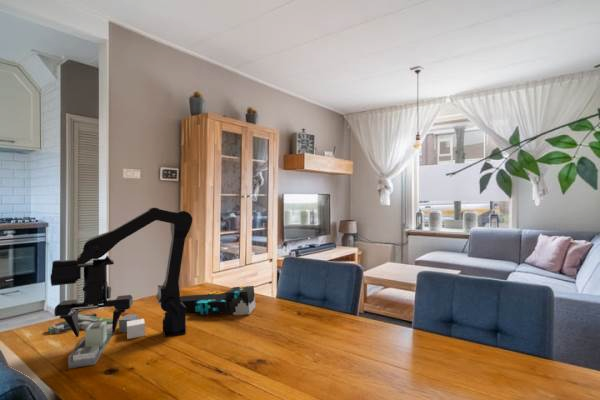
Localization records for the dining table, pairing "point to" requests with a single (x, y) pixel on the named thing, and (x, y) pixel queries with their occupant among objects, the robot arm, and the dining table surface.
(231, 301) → the toy
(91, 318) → the futuristic handgun
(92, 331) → the module
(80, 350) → the rail
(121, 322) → the white block
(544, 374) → the dining table surface
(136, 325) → the block
